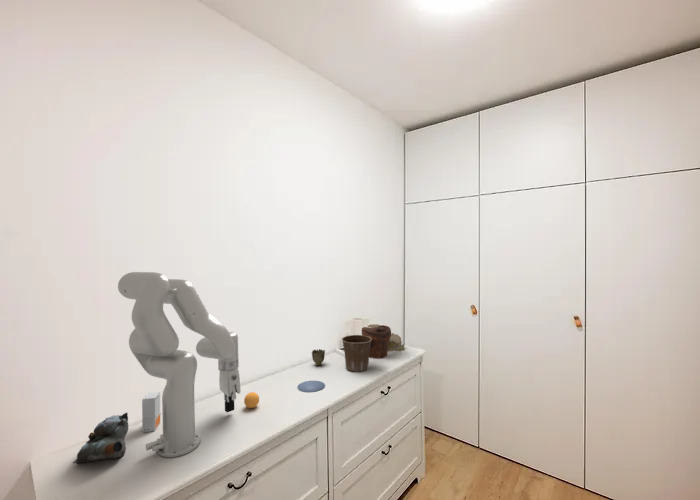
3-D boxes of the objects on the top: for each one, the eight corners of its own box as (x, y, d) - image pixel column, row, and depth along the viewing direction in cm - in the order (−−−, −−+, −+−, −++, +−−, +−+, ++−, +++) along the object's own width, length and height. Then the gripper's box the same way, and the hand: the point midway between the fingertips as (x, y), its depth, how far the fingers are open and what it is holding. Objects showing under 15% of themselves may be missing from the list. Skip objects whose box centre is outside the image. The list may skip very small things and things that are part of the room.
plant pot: (378, 369, 178) (377, 339, 178) (353, 376, 169) (353, 344, 169) (360, 361, 192) (360, 333, 192) (336, 367, 183) (336, 337, 183)
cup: (323, 367, 182) (322, 353, 182) (310, 367, 184) (309, 352, 184) (326, 363, 190) (326, 349, 190) (314, 362, 191) (314, 348, 191)
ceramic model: (381, 350, 212) (380, 334, 212) (384, 345, 223) (383, 330, 223) (403, 351, 209) (403, 335, 209) (405, 346, 219) (404, 331, 219)
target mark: (307, 394, 148) (307, 394, 148) (292, 386, 158) (292, 385, 158) (330, 386, 157) (330, 386, 157) (314, 378, 167) (314, 378, 167)
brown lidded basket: (396, 351, 208) (395, 323, 208) (386, 362, 190) (385, 330, 190) (369, 349, 215) (368, 321, 215) (357, 358, 197) (356, 328, 197)
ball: (248, 412, 133) (247, 397, 133) (241, 407, 138) (241, 392, 138) (261, 407, 137) (261, 392, 137) (255, 402, 142) (255, 388, 142)
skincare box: (155, 431, 120) (154, 398, 120) (142, 432, 119) (141, 399, 119) (161, 422, 126) (160, 391, 126) (148, 424, 125) (148, 392, 125)
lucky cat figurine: (65, 464, 102) (81, 414, 109) (108, 461, 111) (120, 414, 118) (87, 464, 95) (103, 410, 102) (131, 461, 104) (143, 411, 111)
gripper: (245, 366, 128) (247, 414, 128) (230, 357, 139) (231, 401, 139) (226, 371, 123) (227, 421, 123) (211, 362, 134) (213, 407, 134)
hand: (229, 410), depth 131 cm, fingers closed
